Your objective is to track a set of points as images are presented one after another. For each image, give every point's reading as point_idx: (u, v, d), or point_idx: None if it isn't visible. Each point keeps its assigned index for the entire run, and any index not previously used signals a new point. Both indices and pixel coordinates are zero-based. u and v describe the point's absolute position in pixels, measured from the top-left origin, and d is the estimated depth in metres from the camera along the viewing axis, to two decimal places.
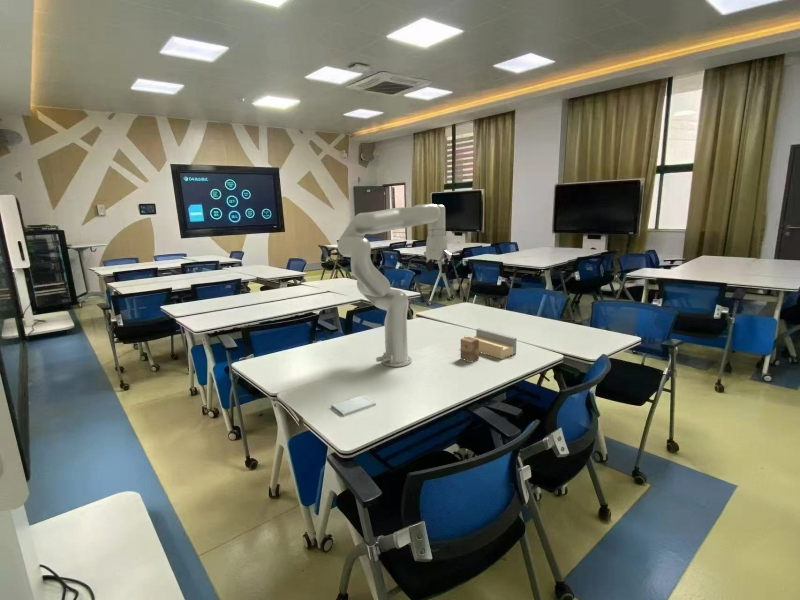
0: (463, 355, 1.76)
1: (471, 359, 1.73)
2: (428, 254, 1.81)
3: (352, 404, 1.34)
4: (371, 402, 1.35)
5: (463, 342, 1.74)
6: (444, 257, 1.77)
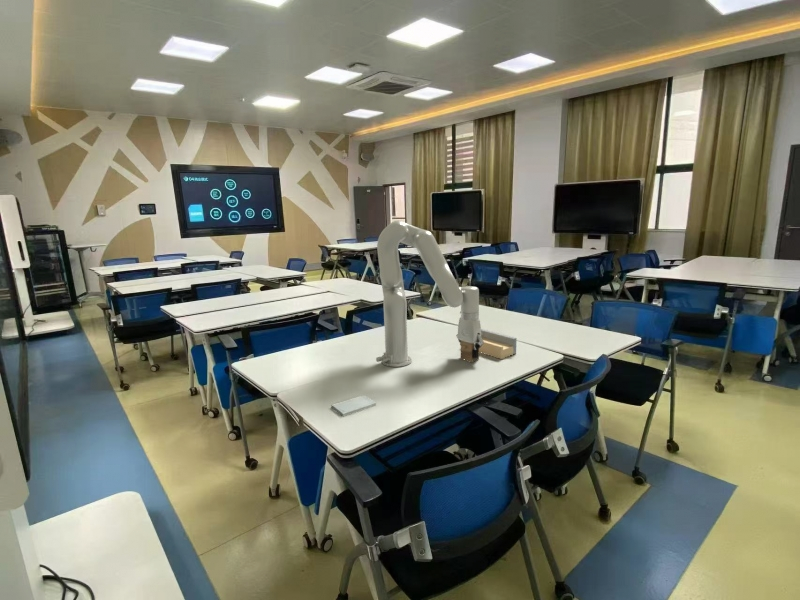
0: (463, 355, 1.76)
1: (471, 359, 1.73)
2: (460, 336, 1.75)
3: (352, 404, 1.34)
4: (371, 402, 1.35)
5: (463, 342, 1.74)
6: (476, 342, 1.72)
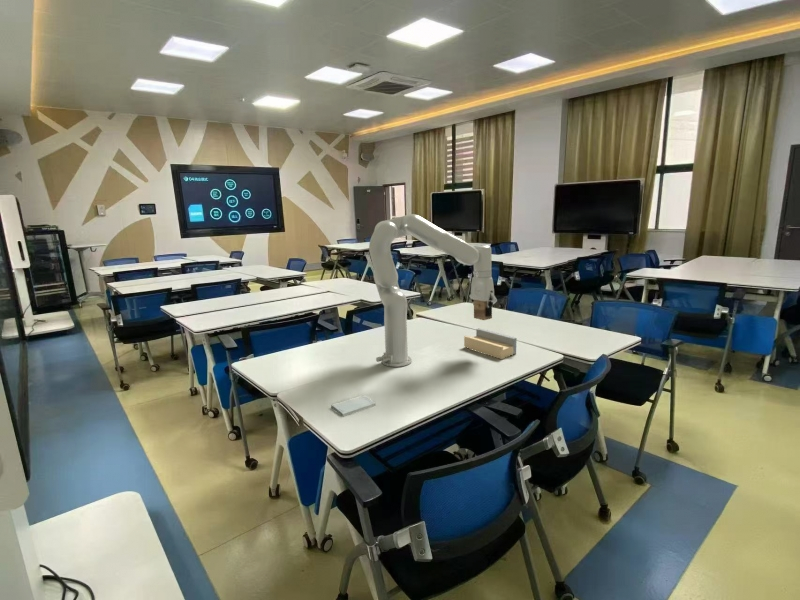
0: (476, 314, 1.78)
1: (484, 317, 1.76)
2: (473, 295, 1.78)
3: (351, 404, 1.34)
4: (371, 402, 1.35)
5: (476, 301, 1.77)
6: (489, 300, 1.75)
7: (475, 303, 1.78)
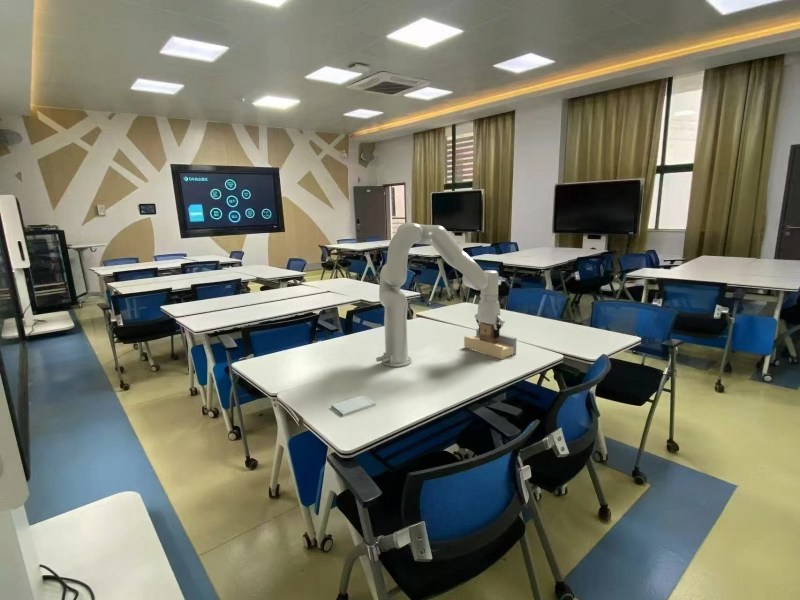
0: (482, 338, 1.85)
1: (490, 342, 1.82)
2: (480, 318, 1.84)
3: (351, 404, 1.34)
4: (371, 402, 1.35)
5: (482, 326, 1.84)
6: (496, 322, 1.80)
7: (481, 328, 1.84)
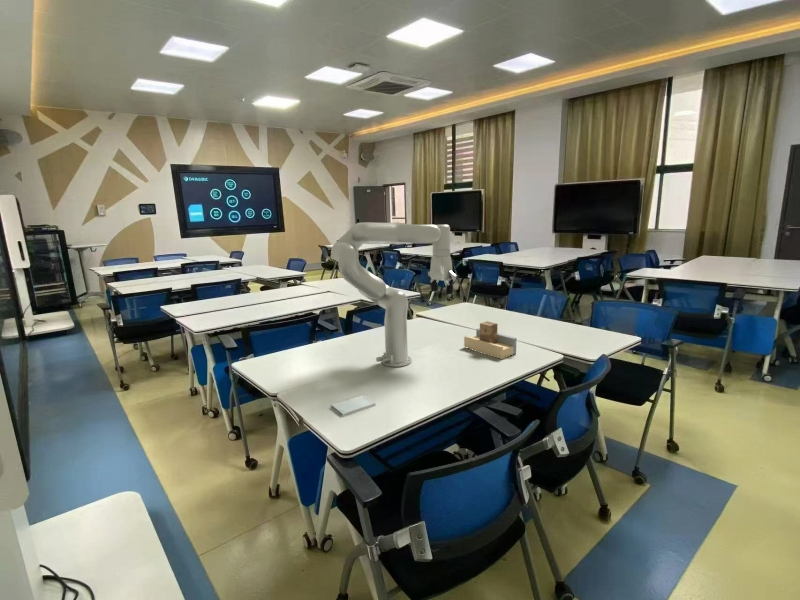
0: (482, 338, 1.85)
1: (490, 342, 1.82)
2: (432, 274, 1.78)
3: (351, 404, 1.34)
4: (371, 402, 1.35)
5: (482, 326, 1.84)
6: (449, 278, 1.74)
7: (481, 328, 1.84)
